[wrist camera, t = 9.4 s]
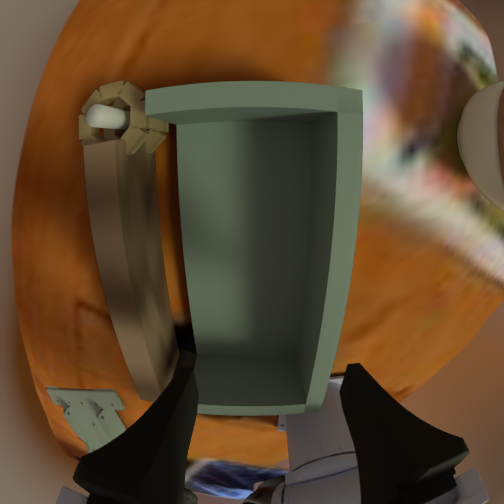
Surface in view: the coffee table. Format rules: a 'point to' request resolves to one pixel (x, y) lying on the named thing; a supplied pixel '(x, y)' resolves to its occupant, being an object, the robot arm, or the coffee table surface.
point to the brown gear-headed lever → (130, 235)
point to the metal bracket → (91, 414)
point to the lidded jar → (484, 141)
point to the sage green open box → (263, 233)
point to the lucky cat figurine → (264, 491)
